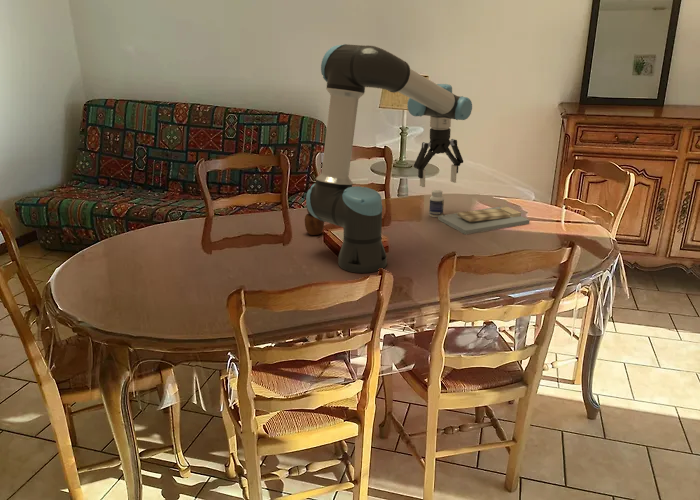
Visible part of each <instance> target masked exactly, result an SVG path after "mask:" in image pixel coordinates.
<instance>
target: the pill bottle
mask: <svg viewBox="0 0 700 500" xmlns="http://www.w3.org/2000/svg"><path fill="white" fill-rule="evenodd" d="M444 203H445V197H444V196H443V190H441V189H433V190H431V196H430V197H429V209H428V215H429V216H430V217H431V218H438V217H439V216H442V215H444Z"/></svg>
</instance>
